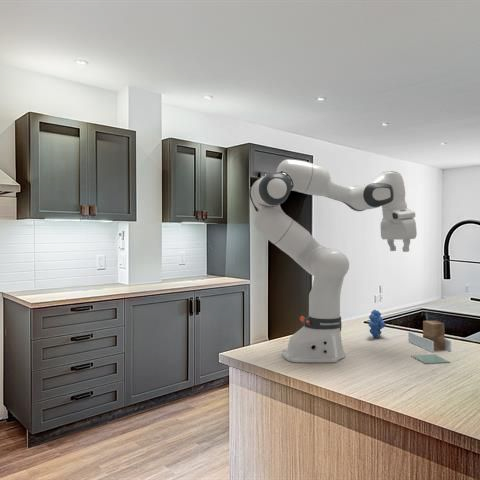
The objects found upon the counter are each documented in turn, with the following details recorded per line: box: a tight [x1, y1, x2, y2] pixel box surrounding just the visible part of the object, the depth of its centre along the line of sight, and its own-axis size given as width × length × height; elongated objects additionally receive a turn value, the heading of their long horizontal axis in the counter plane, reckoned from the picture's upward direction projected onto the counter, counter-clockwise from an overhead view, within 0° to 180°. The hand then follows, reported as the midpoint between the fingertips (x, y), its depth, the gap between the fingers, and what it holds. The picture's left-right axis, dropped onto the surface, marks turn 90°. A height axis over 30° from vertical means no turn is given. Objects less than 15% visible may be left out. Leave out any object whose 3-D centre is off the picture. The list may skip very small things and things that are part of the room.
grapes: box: [368, 309, 387, 339], centre depth 182 cm, size 12×7×12 cm, turn 143°
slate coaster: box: [410, 353, 451, 365], centre depth 151 cm, size 9×9×1 cm
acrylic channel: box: [407, 331, 452, 353], centre depth 169 cm, size 8×16×4 cm, turn 9°
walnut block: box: [422, 320, 445, 352], centre depth 165 cm, size 5×6×10 cm
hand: (399, 251), depth 163 cm, fingers open, 8 cm apart
